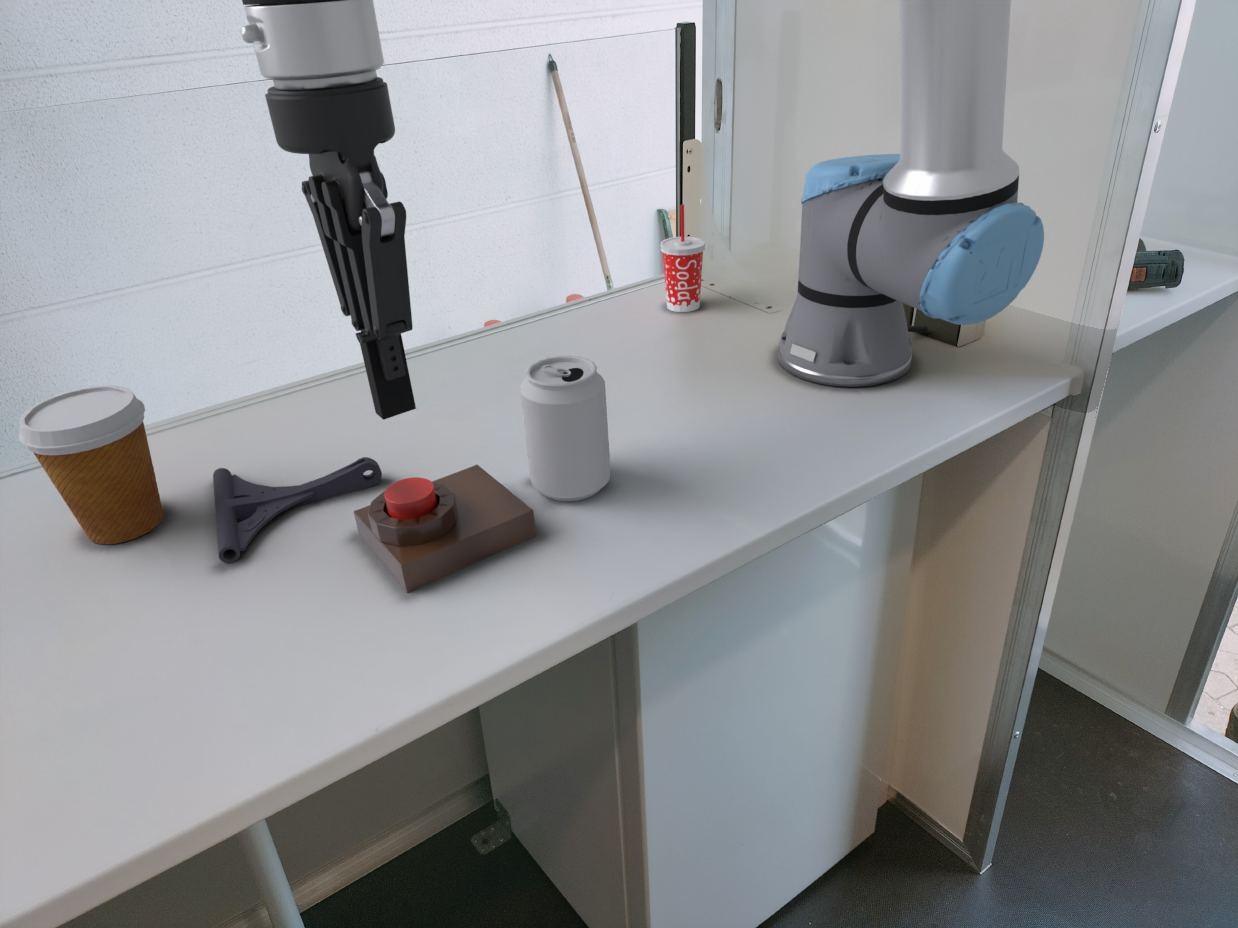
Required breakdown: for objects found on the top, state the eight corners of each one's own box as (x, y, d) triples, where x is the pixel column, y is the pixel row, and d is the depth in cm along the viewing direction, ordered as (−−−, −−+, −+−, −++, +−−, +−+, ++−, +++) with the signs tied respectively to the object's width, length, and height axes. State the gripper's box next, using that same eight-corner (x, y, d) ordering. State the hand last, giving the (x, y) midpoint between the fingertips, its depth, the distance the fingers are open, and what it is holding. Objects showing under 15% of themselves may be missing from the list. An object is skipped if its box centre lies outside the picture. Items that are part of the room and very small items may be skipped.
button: (424, 489, 73) (421, 471, 72) (445, 509, 70) (442, 491, 69) (380, 506, 71) (376, 488, 70) (400, 527, 68) (396, 509, 67)
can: (601, 509, 76) (593, 388, 70) (521, 503, 78) (506, 384, 71) (618, 466, 82) (611, 351, 76) (543, 461, 84) (531, 348, 78)
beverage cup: (656, 313, 117) (654, 210, 110) (667, 298, 122) (664, 199, 115) (700, 315, 116) (700, 211, 109) (709, 300, 121) (709, 199, 114)
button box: (481, 488, 80) (474, 447, 78) (536, 536, 73) (531, 492, 71) (359, 536, 74) (348, 493, 72) (407, 593, 67) (396, 547, 65)
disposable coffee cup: (190, 531, 76) (145, 412, 70) (70, 569, 72) (12, 446, 66) (174, 485, 83) (133, 373, 77) (64, 518, 79) (11, 402, 73)
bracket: (398, 518, 76) (392, 492, 75) (221, 565, 71) (212, 538, 70) (369, 449, 88) (364, 425, 87) (215, 485, 83) (207, 461, 82)
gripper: (235, 79, 57) (319, 397, 69) (299, 95, 47) (383, 459, 59) (344, 66, 60) (405, 371, 72) (423, 78, 51) (478, 425, 63)
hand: (395, 410), depth 66 cm, fingers closed
